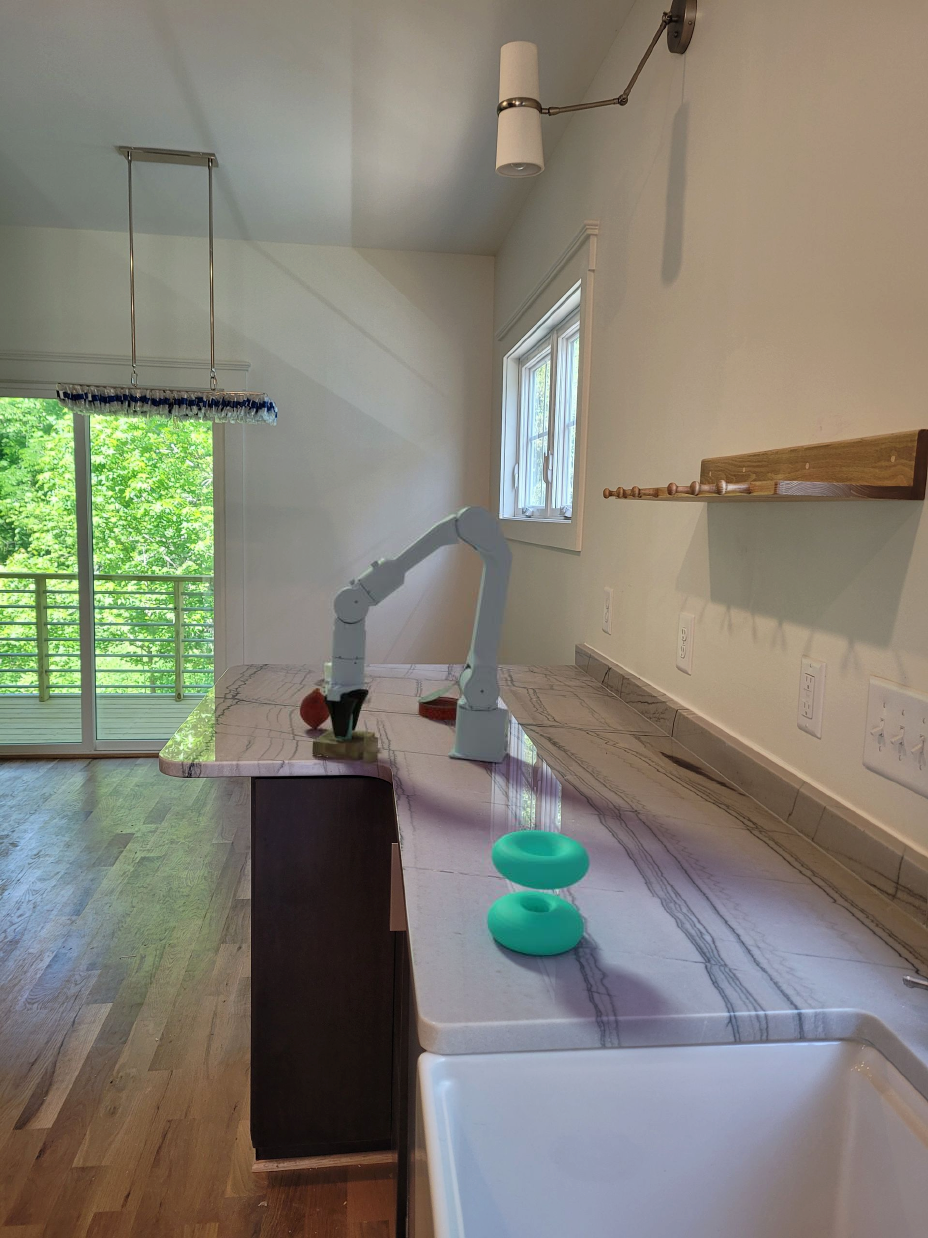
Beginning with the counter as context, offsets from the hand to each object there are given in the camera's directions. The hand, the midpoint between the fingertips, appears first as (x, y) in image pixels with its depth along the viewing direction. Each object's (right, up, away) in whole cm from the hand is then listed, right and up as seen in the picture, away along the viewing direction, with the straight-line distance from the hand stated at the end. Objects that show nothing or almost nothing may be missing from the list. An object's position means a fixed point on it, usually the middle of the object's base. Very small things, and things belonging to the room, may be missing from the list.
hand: (344, 732), depth 153 cm
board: (0, -3, 0) cm, 3 cm away
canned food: (+16, -1, +32) cm, 36 cm away
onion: (-8, -1, +14) cm, 16 cm away
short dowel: (+5, -4, -5) cm, 8 cm away
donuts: (+28, -13, -62) cm, 70 cm away
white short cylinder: (-8, +3, +45) cm, 46 cm away
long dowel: (0, -3, 0) cm, 3 cm away
